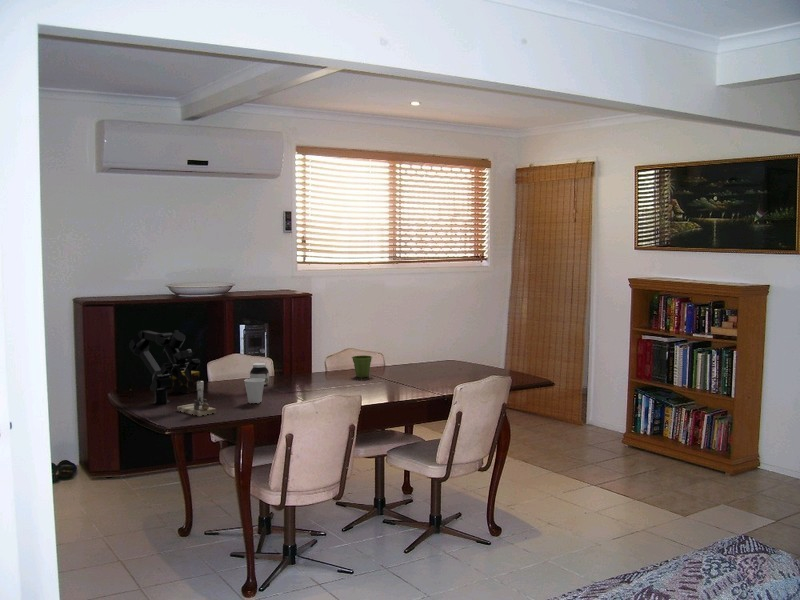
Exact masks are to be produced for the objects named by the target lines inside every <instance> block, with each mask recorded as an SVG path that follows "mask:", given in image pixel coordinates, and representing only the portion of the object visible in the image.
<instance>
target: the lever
mask: <svg viewBox="0 0 800 600" xmlns="http://www.w3.org/2000/svg"><path fill="white" fill-rule="evenodd" d="M204 383H205V382H204V380H199V381H197V391H196V392H197V401H199V406H202V405H203V404H204V401H203V399H204Z"/></svg>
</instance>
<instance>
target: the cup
mask: <svg viewBox="0 0 800 600" xmlns="http://www.w3.org/2000/svg"><path fill="white" fill-rule="evenodd" d="M243 381H244V385H245V390H246V396H247V403H249V404H251V403H257V404H260V402H261V403H262V400H263V393H264V387H265V386H264V381H265V379H261V378H251V379H250V378H246V379H244V380H243Z"/></svg>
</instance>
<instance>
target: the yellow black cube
mask: <svg viewBox="0 0 800 600" xmlns="http://www.w3.org/2000/svg"><path fill="white" fill-rule="evenodd" d="M184 371H185V370H181V372H182V374H183V376H184V378H185V382H183V381H182V380H180V379H178V378H177V377H175V376H173V375H171V378H172V381H173V382H172V392H173V393H178V392H182V393H181V394H191V393H190V392H192V393H194V391H195V392H198V391H197V381H200V371H198V370H193V371H191V375H192V381H190V380H189V379H188V378H187V376H186V375H185V374H184Z"/></svg>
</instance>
